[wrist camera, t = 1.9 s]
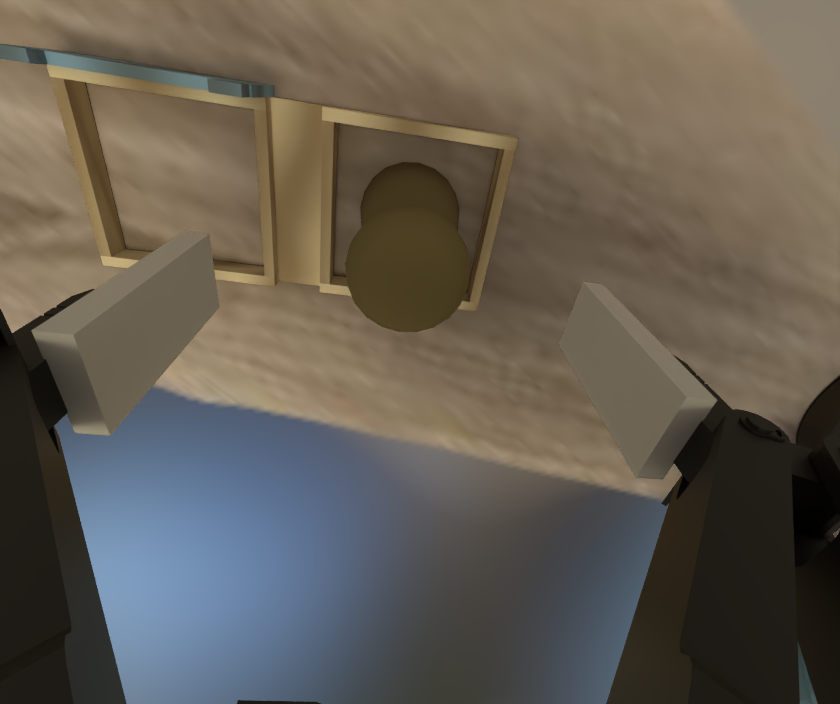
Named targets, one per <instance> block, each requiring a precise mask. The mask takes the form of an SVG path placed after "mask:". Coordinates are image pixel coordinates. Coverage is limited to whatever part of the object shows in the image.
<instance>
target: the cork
mask: <svg viewBox="0 0 840 704" xmlns="http://www.w3.org/2000/svg"><path fill="white" fill-rule="evenodd" d="M458 218H459V206H458V202H457V198H456V194H455V192H454V190H453V189H452V187H451V185H450V184H449V182H448V180H447V179H446V178H445V177H444V176H442V175H441V174H440V173H439V172H438V171H436V170H435V169H434V168H431V167H429V166H426V165H423V164H421V163H410V162H402V163H399V164H396V165H393V166H390V167H387V168H385V169H384V170H383V171H381V172H380V173H379V174H377V175H376V176H375V177H374V178H373V179H372V181H371V182H370V184H369V185H368V187H367V188H366V190H365V192H364V196H363V199H362V203H361V225H362V227H361V229H360V230H359V231H358V233H357V234H356V236H355V237H354V239H353V240H352V242H351V244H350V248H349V251H348V255H347V259H346V263H345V267H346V280H347V285H348V288H349V291H350V293H351V295H352V298H353V300H354V302H355V304H356V305H357V306H358V308H359V309H360V310H361V311H362V312H363V313H364V315H365V316H366V317H367V318H369V319H371V320H372V321H374V322H375V323H377V324H378V325H380V326H381V327H385V328H388V329H391V330H395V331H398V332H418V331H422V330H425V329H429V328H433V327H435V326H436V325H438V324H440V323H441V322H443V321H445V320H446V319H448V318H449V317H450V316H451V315H452V314H453V313H454V312H455V310H456V309H457V308H458V307H459V306H460V304H461V302H462V300H463V298H464V296H465V293H466V291H467V289H468V286H469V279H470V268H471V265H470V261H469V257H468V253H467V248H466V245H465V243H464V241H463V240H462V238H461V237H460V235H459V234H458V232H457V228H458Z"/></svg>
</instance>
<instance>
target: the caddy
mask: <svg viewBox="0 0 840 704" xmlns="http://www.w3.org/2000/svg"><path fill="white" fill-rule="evenodd" d="M0 58H1V59H7V60H13V61H19V62H25V63H34V64H47V67H48V71H49V75H50V78H51V82H52V85H53V89H54V92H55V96H56V99H57V103H58V106H59V110H60V114H61V117H62V121H63V124H64V128H65V131H66V135H67V138H68V142H69V145H70V149H71V153H72V156H73V160H74V163H75V167H76V170H77V174H78V177H79V181H80V184H81V188H82V192H83V195H84V199H85V202H86V206H87V209H88V213H89V216H90V220H91V224H92V227H93V231H94V234H95V238H96V241H97V245H98V248H99V252H100V255H101V259H102V263H103V265H106V266H114V267H122V268H129V267H130V266H132V265H133V264H135V263H136V262H138V261H139V260H141V259H142V258H144V257H145V256H147V255H149V254H150V253H152V252H146V251H138V250H130V249H126V247H125V243H124V239H123V235H122V231H121V227H120V223H119V219H118V215H117V211H116V206H115V202H114V198H113V194H112V190H111V186H110V182H109V178H108V174H107V170H106V166H105V162H104V158H103V154H102V149H101V145H100V141H99V137H98V133H97V129H96V125H95V121H94V117H93V113H92V109H91V105H90V101H89V97H88V92H87V88H86V84H85V82H87V83H93V84H100V85H106V86H112V87H118V88H125V89H131V90H137V91H143V92H150V93H156V94H162V95H168V96H175V97H181V98H187V99H193V100H199V101H206V102H212V103H218V104H224V105H231V106H237V107H243V108H249V109H254V120H255V136H256V152H257V167H258V183H259V199H260V215H261V230H262V246H263V262H264V266H256V265H248V264H240V263H232V262H225V261H217V260H213V264H214V272H215V279H219V280H227V281H235V282H243V283H252V284H260V285H268V286H275V285H276V284H277V282H278V281H284V282H292V283H300V284H308V285H316V286H320V292H324V293H332V294H341V295H349V296H352V295H351V293H350V291H349V288H348V285H347V280H346V277H342V276H334V275H333V274H334V242H335V211H336V179H337V148H338V123H343V124H349V125H356V126H362V127H368V128H374V129H381V130H387V131H393V132H399V133H406V134H412V135H418V136H424V137H430V138H437V139H443V140H449V141H455V142H462V143H468V144H474V145H480V146H487V147H493V148H499V151H498V155H497V160H496V164H495V169H494V173H493V178H492V182H491V187H490V191H489V196H488V200H487V205H486V209H485V214H484V219H483V223H482V228H481V232H480V237H479V241H478V246H477V250H476V255H475V259H474V264H473V268H472V273H471V277H470V282H469V286H468V291H467V292H466V293H465V296H464V298H463V300H462V302H461V304H460V306H459V307H458V308H457V309H462V310H470V311H477V308H478V304H479V300H480V296H481V292H482V288H483V283H484V279H485V275H486V271H487V267H488V263H489V259H490V254H491V250H492V246H493V242H494V238H495V234H496V230H497V226H498V221H499V217H500V213H501V209H502V205H503V201H504V197H505V192H506V188H507V184H508V180H509V176H510V172H511V168H512V163H513V159H514V155H515V151H516V147H517V143H518V138H516V137H514V136H509V135H503V134H497V133H491V132H485V131H479V130H473V129H467V128H460V127H454V126H448V125H442V124H436V123H430V122H424V121H418V120H412V119H405V118H399V117H393V116H387V115H381V114H375V113H369V112H363V111H356V110H350V109H344V108H338V107H332V106H326V105H320V104H314V103H307V102H301V101H295V100H289V99H283V98H277V97H274V86H271V85H265V84H259V83H253V82H247V81H241V80H235V79H229V78H223V77H217V76H211V75H205V74H199V73H193V72H187V71H181V70H175V69H169V68H163V67H157V66H151V65H145V64H139V63H133V62H127V61H121V60H115V59H109V58H103V57H96V56H90V55H84V54H78V53H72V52H66V51H58V50H50V49H41V48H33V47H25V46H16V45H8V44H0Z"/></svg>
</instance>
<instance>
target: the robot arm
mask: <svg viewBox="0 0 840 704" xmlns="http://www.w3.org/2000/svg"><path fill="white" fill-rule="evenodd" d="M218 308H219V301H218V294H217V286H216V279H215V272H214V264H213V257H212V249H211V242H210V235H209V234H208V233H200V232H192V231H184V232H182V233H181V234H179V235H178V236H176V237H175V238H173V239H172V240H170V241H169V242H167V243H166V244H164V245H162V246H161V247H159V248H158V249H156V250H155V251H153V252H152V253H150V254H149V255H147V256H145V257H144V258H142V259H141V260H139V261H138V262H136V263H135V264H133V265H132V266H130V267H129V268H127V269H125V270H124V271H122V272H121V273H119V274H118V275H116V276H115V277H113V278H112V279H110V280H108V281H107V282H105V283H104V284H102V285H101V286H99V287H98V288H96V289H91V290H88V291H86V292H83V293H80V294H77V295H74V296H71V297H70V298H68V299H66V300H65V301H63V302H62V303H60V304H58V305H57V307H56V308H52V309H50V310H49V311H47V312H46V313H44V316H39V317H38V318H36V319H34V320H33V321H31V322H30V323H28V324H26V325H25V326H23V327H22V328H20V329H18V330H17V331H15V332H14V333H11V331H10V328H9V326H8V324H7V322H6V320H5V317H4V315H3V313H2V311H1V309H0V704H126V700H125V696H124V693H123V688H122V685H121V680H120V676H119V672H118V668H117V665H116V660H115V656H114V652H113V649H112V645H111V641H110V637H109V633H108V629H107V625H106V621H105V617H104V613H103V609H102V605H101V601H100V597H99V593H98V589H97V585H96V581H95V577H94V573H93V569H92V565H91V561H90V557H89V553H88V549H87V545H86V541H85V538H84V533H83V529H82V526H81V521H80V517H79V514H78V510H77V506H76V502H75V498H74V494H73V490H72V486H71V482H70V478H69V474H68V470H67V466H66V462H65V458H64V454H63V451H62V446H61V442H60V438H59V435H58V433H57V431H56V429H55V427H54V425H55V424H56V423H57V422H58V421H59V420H60V419H61V418H62V417H63V416H65V415H66V414H67V415H68V418H69V420H70V422H71V424H72V427H73V429H74V432H75V433H84V434H97V435H111V434H112V433H113V432H114V430H115V429H116V428H117V427H118V426H119V424H120V423H121V422H122V421H123V420H124V419H125V417H126V416H127V415H128V414H129V413H130V412H131V410H132V409H133V408H134V407H135V406H136V405H137V403H138V402H139V401H140V400H141V399H142V397H143V396H144V395H145V394H146V393H147V392H148V390H149V389H150V388H151V387H152V386H153V385H154V383H155V382H156V381H157V380H158V379H159V378H160V376H161V375H162V374H163V373H164V372H165V370H166V369H167V368H168V367H169V366H170V365H171V363H172V362H173V361H174V360H175V359H176V358H177V356H178V355H179V354H180V353H181V352H182V351H183V349H184V348H185V347H186V346H187V345H188V343H189V342H190V341H191V340H192V339H193V338H194V336H195V335H196V334H197V333H198V332H199V331H200V329H201V328H202V327H203V326H204V325H205V324H206V322H207V321H208V320H209V319H210V318H211V316H212V315H213V314H214V313H215V312H216V311H217V309H218ZM559 347H560V349H561V350H562V352H563V354H564V355H565V357H566V359H567V361H568V362H569V364H570V366H571V367H572V369H573V371H574V372H575V374H576V376H577V378H578V379H579V381H580V383H581V384H582V386H583V388H584V390H585V391H586V393H587V395H588V396H589V398H590V400H591V402H592V403H593V405H594V407H595V408H596V410H597V412H598V413H599V415H600V417H601V419H602V420H603V422H604V424H605V425H606V427H607V429H608V431H609V432H610V434H611V436H612V437H613V439H614V441H615V443H616V444H617V446H618V448H619V449H620V451H621V453H622V454H623V456H624V458H625V460H626V461H627V463H628V465H629V466H630V468H631V470H632V472H633V473H634V475H635V477H638V478H650V479H663V478H664V477H665V475H666V474H667V473H668V471H669V470H670V468H671V467H672V465H673V464H674V463H675V465H676V466H677V468H678V469H679V470H680V472H681V473H682V476H681V477H680V479H679V480H678V481H677V483H676V484H675V486H674V487H673V488H672V490H671V491H670V492H669V494H668V495H667V497H666V498H665V499H664V501H663V502H662V504H663V505H665V506H666V505H667V504H668V503H669V506H668V509H667V512H666V515H665V519H664V522H663V525H662V528H661V531H660V534H659V538H658V541H657V544H656V547H655V550H654V554H653V557H652V560H651V563H650V566H649V569H648V573H647V576H646V579H645V582H644V585H643V589H642V592H641V595H640V598H639V601H638V605H637V608H636V611H635V614H634V617H633V620H632V624H631V627H630V630H629V633H628V637H627V640H626V643H625V646H624V649H623V653H622V656H621V659H620V662H619V665H618V668H617V671H616V675H615V678H614V681H613V684H612V687H611V691H610V694H609V697H608V700H607V703H606V704H840V532H839V534H838V535H837V536H836V538H834V536H833V533H834V532H836V531H837V530H838V529H839V528H840V379H839V380H838V381H837V382H835V383H834V384H833V385H832V386H831V387H830V388H829V389H828V390H826V391H825V392H824V393H823V394H822V395H821V396H820V398H819V399H818V400H817V401H816V402H815V403H814V405H813V406H812V407H811V409H810V410H809V411H808V413H807V415H806V416H805V418H804V420H803V422H802V424H801V427H800V430H799V433H798V445H796V444H792V443H790V440H789V438H788V436H787V435H786V434H785V433H784V432H783V431H782V430H781V429H780V428H779V427H778V426H776V425H775V424H773V423H772V422H771V421H769V420H767V419H765V418H763V417H761V416H759V415H757V414H754V413H751V412H748V411H744V410H738V409H735V410H732V409H731V408H730V407H729V406H728V405H727V404H726V403H725V402H724V401H723V400H722V399H721V398H720V397H719V396H718V395H717V394H716V393H715V392H714V391H713V390H712V389H711V388H710V387H709V386H708V385H707V384H704V383H705V382H704V381H703V380H702V379H701V378H700V377H699V376H698V375H696V373H695V372H694V371H693V370H692V369H691V368H690V367H689V366H688V365H687V364H686V363H685V362H683V361H682V360H680V359H679V358H677V357H676V356H674V355H672V354H671V353H670V352H669V351H668V350H667V349H666V348H665V347H664V346H663V345H662V344H661V343H660V342H659V341H658V340H657V339H656V338H655V337H654V336H653V335H652V334H651V333H650V332H649V331H648V330H647V329H646V328H645V327H644V325H643V324H642V323H641V322H640V321H639V320H638V319H637V318H636V317H635V316H634V315H633V314H632V313H631V312H630V311H629V310H628V309H627V308H626V307H625V306H624V305H623V304H622V303H621V302H620V301H619V300H618V299H617V298H616V297H615V296H614V295H613V294H612V293H611V292H610V291H609V290H608V289H607V288H606V287H605V286H604V285H603V284H598V283H590V282H582V285H581V288H580V290H579V293H578V295H577V298H576V301H575V303H574V306H573V308H572V311H571V314H570V316H569V319H568V321H567V324H566V327H565V329H564V332H563V334H562V337H561V340H560V342H559ZM237 704H320V703H317V702H291V701H289V702H288V701H240V700H238V702H237Z"/></svg>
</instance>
